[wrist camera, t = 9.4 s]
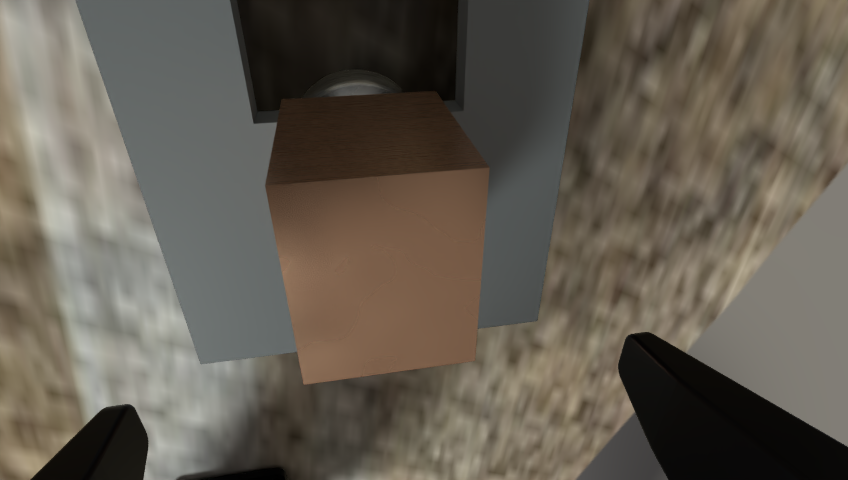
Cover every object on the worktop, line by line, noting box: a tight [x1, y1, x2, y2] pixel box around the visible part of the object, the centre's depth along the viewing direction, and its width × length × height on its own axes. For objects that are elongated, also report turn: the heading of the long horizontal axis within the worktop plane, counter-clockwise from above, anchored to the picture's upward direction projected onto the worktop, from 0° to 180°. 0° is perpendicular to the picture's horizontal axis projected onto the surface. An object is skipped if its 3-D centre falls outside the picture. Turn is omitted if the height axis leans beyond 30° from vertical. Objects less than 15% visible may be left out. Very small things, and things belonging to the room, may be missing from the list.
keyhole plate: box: [76, 0, 589, 364], centre depth 16 cm, size 12×16×6 cm
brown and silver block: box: [265, 69, 490, 385], centre depth 14 cm, size 4×5×9 cm
